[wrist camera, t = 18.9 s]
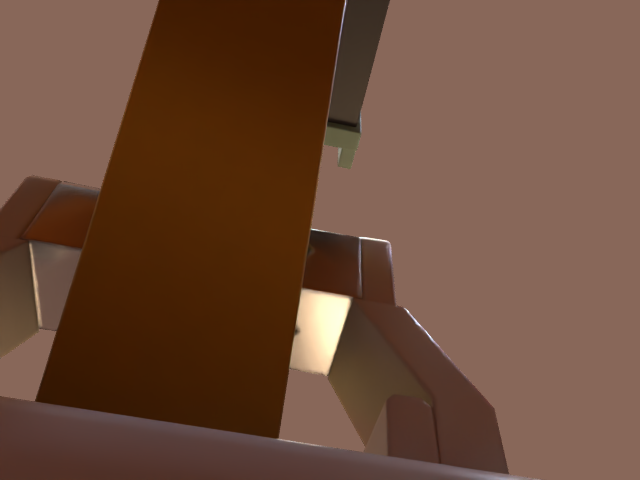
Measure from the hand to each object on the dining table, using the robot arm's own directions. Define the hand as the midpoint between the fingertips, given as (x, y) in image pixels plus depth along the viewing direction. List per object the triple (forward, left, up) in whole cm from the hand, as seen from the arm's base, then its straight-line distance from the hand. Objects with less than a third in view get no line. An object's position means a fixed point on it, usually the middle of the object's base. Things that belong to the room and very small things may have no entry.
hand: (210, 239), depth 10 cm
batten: (+5, +1, -5) cm, 7 cm away
